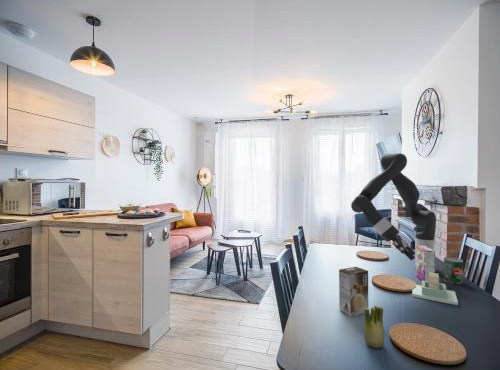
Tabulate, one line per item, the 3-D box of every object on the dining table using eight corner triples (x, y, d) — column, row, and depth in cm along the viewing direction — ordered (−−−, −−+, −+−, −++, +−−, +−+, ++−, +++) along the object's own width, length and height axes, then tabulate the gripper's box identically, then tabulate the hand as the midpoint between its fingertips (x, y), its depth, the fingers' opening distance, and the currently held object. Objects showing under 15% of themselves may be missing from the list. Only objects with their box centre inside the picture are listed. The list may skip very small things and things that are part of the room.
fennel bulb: (364, 347, 83) (364, 308, 83) (363, 339, 87) (363, 301, 87) (385, 352, 81) (385, 311, 80) (383, 343, 85) (384, 304, 85)
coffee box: (356, 305, 111) (356, 266, 111) (368, 312, 105) (369, 270, 105) (338, 309, 107) (338, 269, 107) (350, 317, 101) (350, 274, 101)
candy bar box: (415, 276, 145) (415, 245, 145) (425, 276, 144) (425, 245, 144) (424, 283, 134) (424, 250, 134) (435, 284, 133) (435, 251, 133)
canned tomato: (460, 285, 132) (461, 262, 132) (441, 280, 138) (441, 259, 138) (464, 281, 138) (464, 259, 138) (445, 277, 144) (446, 256, 143)
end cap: (412, 286, 130) (413, 277, 130) (454, 294, 122) (454, 284, 122) (412, 296, 119) (412, 286, 119) (458, 305, 111) (458, 294, 111)
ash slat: (428, 290, 123) (428, 272, 123) (438, 291, 122) (438, 273, 121) (429, 293, 120) (429, 275, 120) (438, 295, 118) (438, 276, 118)
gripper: (390, 226, 123) (420, 255, 117) (393, 222, 135) (420, 248, 129) (377, 236, 126) (406, 265, 120) (381, 232, 138) (407, 258, 132)
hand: (413, 256), depth 125 cm, fingers open, 8 cm apart
